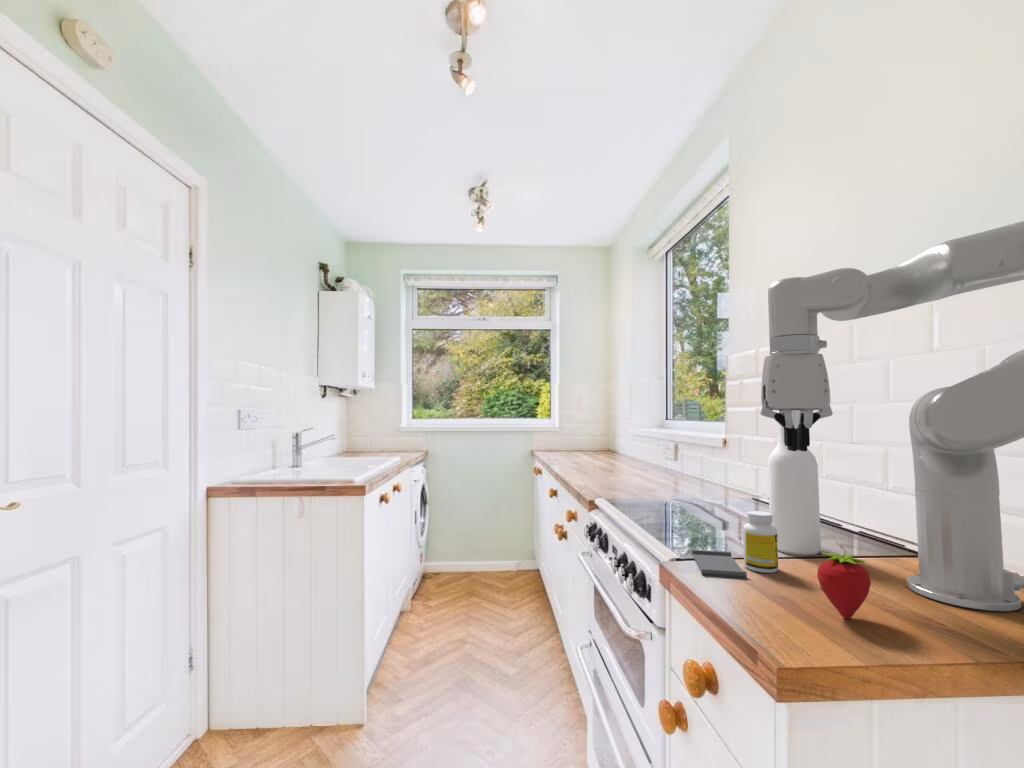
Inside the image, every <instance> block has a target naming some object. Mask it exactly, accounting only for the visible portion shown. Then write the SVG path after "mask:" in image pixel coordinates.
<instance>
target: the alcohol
mask: <svg viewBox="0 0 1024 768" xmlns="http://www.w3.org/2000/svg"><path fill="white" fill-rule="evenodd" d="M791 411H792V418H793V425H794V428H796V429H797V428H798V425H799V417H800V410H791ZM818 466H819V465H818V462H817V458H816V456H815V454H813V453H812V452H811V451H810V450H809V448H808V447H807V451H800V450H796V451H790V450H788V449H787V446H785V444H784V428H783V427H782V426H781V425H780V424H779V423H778V442H777V445H776V447H775V448H774V449H773V450H772V451H771V453H770V454H769V456H768V460H767V473H768V474H767V476H768V480H767V481H768V504H769V505H768V506H769V507H768V508H769V509H768V510H769V512H768V513H771V514H772V519H773V521H772V523H771V525H772V526H774V527H775V528H776V530H777V547H778V552H780V553H783V552H784V554H788V555H794V556H795V555H796V556H803V555H804V556H806V557H807V556H810V555H811V556H816V555H818V554H819V553H820V552H821V549H822V543H821V540H822V539H821V515H820V491H819V486H820V485H819V467H818Z"/></svg>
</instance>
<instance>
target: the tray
mask: <svg viewBox="0 0 1024 768" xmlns="http://www.w3.org/2000/svg"><path fill="white" fill-rule="evenodd" d="M692 554H693V555H692ZM691 555H692V557H693V556H694V557H693V559H694V558H695V559H694V561H695V564H696V565H697V568H698V567H699V568H698V569H699V571H700V574H701V575H702V576H708V577H709V576H710V577H721V578H735V579H736V578H738V579H747V576H748V575H747V573H748V572H747V571H746V570H743V569H742V568H741V566H739V564H738V563H737V561H736V560H735V558H734V557H733V556H732V552H731V551H725V550H724V551H723V550H708V549H707V550H706V549H705V550H704V549H691Z"/></svg>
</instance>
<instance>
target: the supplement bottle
mask: <svg viewBox="0 0 1024 768" xmlns="http://www.w3.org/2000/svg"><path fill="white" fill-rule="evenodd" d="M746 515H747V517H746V518H747V521H748V523H747V522H746V523H745V524H744V526H743V562H744V563H743V565H744V567H745V568H746V569H748V570H750V571H753V572H756V573H764V574H765V573H766V574H767V573H768V574H773V573H777V571H778V570H779V551H778V547H777V530H776V528H775V527H774V526H772V525H771V523H772V521H773V519H772V514H771V513H770V512H767V511H760V510H750V511H747V514H746Z"/></svg>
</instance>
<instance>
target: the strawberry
mask: <svg viewBox="0 0 1024 768" xmlns="http://www.w3.org/2000/svg"><path fill="white" fill-rule="evenodd" d="M835 543H837V545H839V547H840V548H841V549H842V550H843V551H844V553H843V556H842V555H838V554H837V553H831V552H825V551H824V552H823V551H820V553H821V554H822V555H825V556H828V557H829V558H827V559H825V560H823V561H822V562H821V563H820V564H819V566H818V567H817V571H816V572H817V573H816V575H817V580H818V583H819V585H820V588H821V591H822V593H824V595H825V597H826V598H827V599H828V600H829V602H830V604H832V605H833V607H834V608H835V609H836V610H837V611H838V613H839V615H840V616H841V617H843V618H844V619H847V620H848V619H851V618H852V617H853V616H854V614H855V613H856V612H857V611H858V610H859V609H860V608H861V606H862V604H863V603H864V602H865V600H866V599H867V597H868V596H869V593H870V590H871V589H870V588H871V584H872V581H871V580H872V579H871V575H870V573H869V571H868V570H867V569H866V567H864V566H863V565H862V564H865V562H866V561H865V560H863V559H857V558H854V557H855V556H856V555H855V554H846V553H847V552H846V551H847V550H846V549H844V547H843V546H841V545H840V543H838V542H837V541H835Z"/></svg>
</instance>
